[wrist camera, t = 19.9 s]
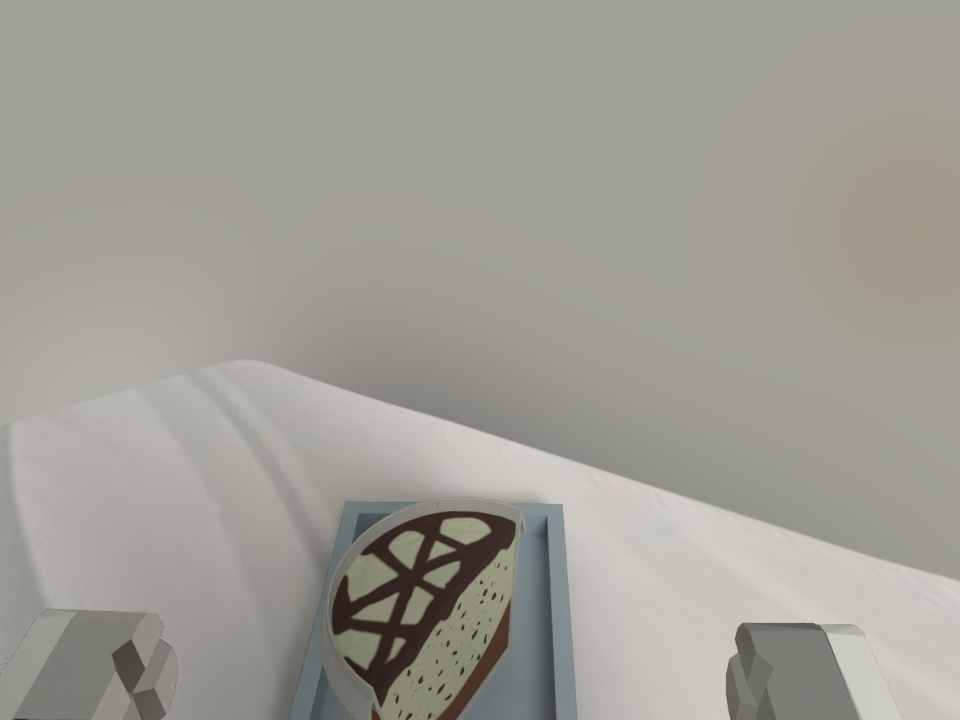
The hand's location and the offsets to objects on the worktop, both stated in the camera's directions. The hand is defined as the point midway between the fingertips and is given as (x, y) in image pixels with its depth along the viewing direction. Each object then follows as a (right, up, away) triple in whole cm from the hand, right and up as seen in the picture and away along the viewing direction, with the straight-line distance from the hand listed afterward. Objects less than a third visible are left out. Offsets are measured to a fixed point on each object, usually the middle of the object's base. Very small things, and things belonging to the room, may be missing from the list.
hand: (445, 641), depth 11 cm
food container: (-3, -14, +29) cm, 32 cm away
